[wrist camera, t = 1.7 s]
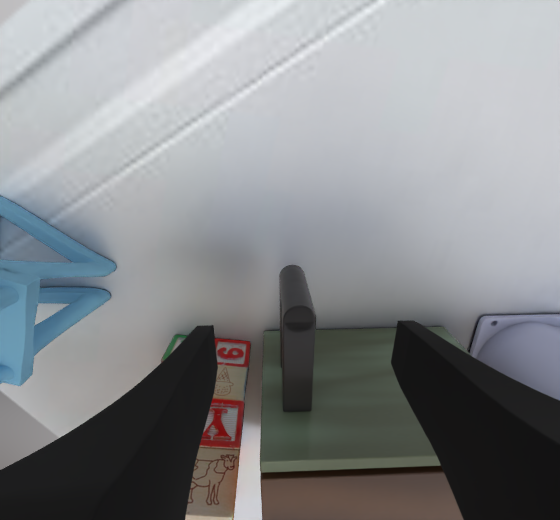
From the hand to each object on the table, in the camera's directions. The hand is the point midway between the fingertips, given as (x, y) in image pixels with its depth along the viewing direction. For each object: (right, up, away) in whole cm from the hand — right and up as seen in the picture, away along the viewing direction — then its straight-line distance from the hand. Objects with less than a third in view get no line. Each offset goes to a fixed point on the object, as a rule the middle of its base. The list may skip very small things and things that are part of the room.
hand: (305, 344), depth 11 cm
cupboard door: (+5, +1, +11) cm, 12 cm away
